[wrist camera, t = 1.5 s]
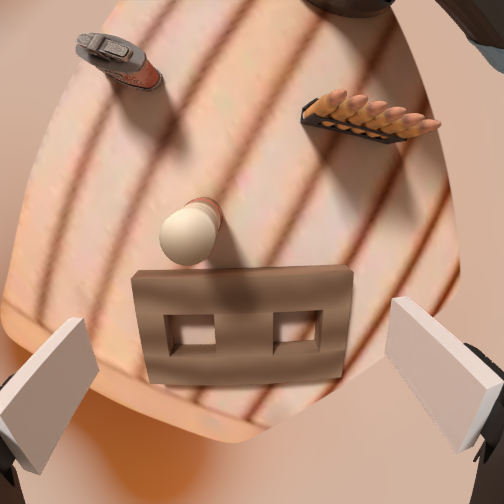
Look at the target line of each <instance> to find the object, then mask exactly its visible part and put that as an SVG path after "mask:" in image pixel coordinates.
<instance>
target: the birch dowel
mask: <svg viewBox="0 0 504 504" xmlns="http://www.w3.org/2000/svg"><path fill="white" fill-rule="evenodd" d="M221 222H222V212H221V208H220V206H219V205H218V204H217V203H216V202H215V201H214V200H212V199H210V198H206V197H201V198H197V199H194V200H192V201H190V202H188V203H187V204H186V205H185V206H184V207H183V208H181V209H180V210H178V211H177V212H175V213H174V214H172V215H171V216H170V217H168V218H167V219H166V220H165V222H164V223H163V225H162V227H161V230H160V236H159V240H160V245H161V248H162V250H163V252H164V254H165V255H166V256H167V257H168V258H169V259H170V260H171V261H173V262H175V263H177V264H180V265H185V266H190V265H195V264H198V263H200V262H202V261H203V260H205V259H206V258H207V257H208V256H209V254H210V253H211V251H212V248H213V245H214V242H215V239H216V236H217V233H218V231H219V229H220V226H221Z"/></svg>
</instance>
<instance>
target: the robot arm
mask: <svg viewBox="0 0 504 504" xmlns="http://www.w3.org/2000/svg"><path fill="white" fill-rule="evenodd" d="M307 1H309V2H310V3H312V4H314V5H315V6H317V7H319V8H321V9H324V10H326V11H328V12H331V13H334V14H338V15H341V16H346V17H354V18H365V17H372V16H375V15H378V14H380V13H382V12H384V11H385V10H386V9H387V8H388V7H389V6H390V5H392V3H393V2H394V1H395V0H307ZM435 1H436V2H437V3H438V4H439V5H440V6H441V7H442V8H443V9H444V10H445V11H446V12H447V13H448V15H449V16H450V17H451V18H452V19H453V20H454V21H455V22H456V24H457V25H458V26H459V27H460V29H462V31H463V32H464V33H465V35H466V37H467V39H468V40H469V42H470V43H472V44H473V45H474V46H476V48H477V49H478V50H479V51H480V52H481V54H482V55H483V56H484V57H485V59H486V60H487V61H488V62H489V64H490V65H491V66H492V67H493V68H494V69H496V70H497V71H499V72H501V73H503V74H504V0H435ZM385 355H386V356H387V357H388V359H389V360H390V361H391V363H392V364H393V365H394V367H395V368H396V369H397V371H398V372H399V373H400V375H401V376H402V378H403V379H404V380H405V382H406V383H407V385H408V386H409V387H410V389H411V390H412V391H413V393H414V394H415V395H416V397H417V398H418V400H419V401H420V403H421V404H422V405H423V407H424V408H425V410H426V411H427V412H428V414H429V415H430V417H431V418H432V420H433V421H434V423H435V424H436V425H437V427H438V428H439V430H440V431H441V433H442V434H443V436H444V437H445V439H446V440H447V442H448V443H449V444H450V446H451V447H452V449H453V450H454V452H455V453H456V454H457V453H460V452H462V451H464V450H466V449H468V448H470V447H473V446H474V444H475V442H476V441H477V439H478V437H479V435H480V434H481V435H482V436H483V437H484V439H485V441H484V442H483V444H482V446H481V448H480V449H479V451H478V453H477V454H476V456H475V458H474V460H473V462H476V460H477V459H478V457H479V456H480V458H479V464H478V470H477V474H476V479H475V483H474V488H473V492H472V496H471V500H470V503H469V504H504V372H503V371H502V370H501V369H500V368H499V367H498V366H497V365H496V364H495V363H492V361H491V360H490V359H489V358H488V357H485V355H484V354H483V353H482V352H481V351H480V350H479V349H477V348H475V347H474V346H471V345H469V344H467V343H462V342H460V341H459V340H458V339H457V338H456V337H455V336H454V335H452V334H451V333H450V332H449V331H448V330H447V329H445V328H444V327H443V326H442V325H441V324H440V323H438V322H437V321H436V320H435V319H434V318H433V317H431V316H430V315H429V314H428V313H427V312H425V311H424V310H423V309H422V308H421V307H419V306H418V305H417V304H416V303H415V302H413V301H412V300H411V299H410V298H408V297H407V296H405V297H398V298H392V302H391V311H390V319H389V326H388V334H387V340H386V347H385ZM98 372H99V368H98V365H97V362H96V359H95V356H94V352H93V349H92V346H91V343H90V339H89V336H88V332H87V329H86V325H85V322H84V318H69V319H68V320H67V321H66V322H65V323H64V324H63V325H62V326H61V327H60V328H59V329H58V330H57V331H56V332H55V333H54V334H53V335H52V336H51V337H50V338H49V339H48V340H47V341H46V342H45V343H44V344H43V345H42V346H41V347H40V348H39V349H38V350H37V351H36V352H35V353H34V354H33V355H32V357H31V358H30V359H29V360H28V361H27V362H26V363H25V364H24V365H23V366H22V367H21V368H20V369H19V370H18V371H17V372H16V373H14V374H13V375H11V376H10V377H9V378H8V379H7V380H6V381H5V382H4V383H3V384H2V386H1V387H0V504H25V500H24V497H23V494H22V490H21V487H20V483H19V479H18V475H17V471H16V469H15V467H14V466H13V465H12V464H13V462H14V460H15V459H16V460H17V461H18V462H19V464H20V465H21V467H22V468H23V469H24V470H26V471H29V472H32V473H35V474H38V475H41V473H42V471H43V469H44V467H45V465H46V463H47V461H48V460H49V458H50V456H51V454H52V452H53V450H54V448H55V446H56V445H57V443H58V441H59V439H60V437H61V435H62V434H63V432H64V430H65V428H66V427H67V425H68V423H69V421H70V419H71V418H72V416H73V414H74V412H75V411H76V409H77V407H78V406H79V404H80V402H81V400H82V399H83V397H84V395H85V394H86V392H87V390H88V389H89V387H90V385H91V384H92V382H93V380H94V379H95V377H96V375H97V374H98Z"/></svg>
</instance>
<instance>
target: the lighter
mask: <svg viewBox="0 0 504 504" xmlns="http://www.w3.org/2000/svg"><path fill="white" fill-rule="evenodd" d="M76 43H77V46H76V53H77V55H78V56H80V57H81V58H83V59H84V60H86V61H87V62H89V63H90V64H92V65H94V66H96V68H98V69H99V70H101V71H102V72H103V73H105V74H106V75H108V76H109V77H111V78H112V79H113V80H115V81H117V82H119V83H121V84H123V85H125V86H128V87H131V88H134V89H138V90H143V91H154V90H156V89H157V88H158V87H159V86H160V85H161V83H162V79H163V77H162V74H161V73H160V71H159V70H158V69H156V68H155V67H153V66H152V65H151V63H150V62H149V61H148V60H147V57H146V54H145V53H144V52H143V51H142V49H140V48H139V47H137V46H135V45H134V44H132V43H131V42H129V41H126V40H124V39H122V38H119V37H116V36H112V35H107V34H99V33H89V34H87V33H81V34H80V35H79V36H78V37H77V39H76Z"/></svg>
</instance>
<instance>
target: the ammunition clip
mask: <svg viewBox="0 0 504 504" xmlns="http://www.w3.org/2000/svg"><path fill="white" fill-rule="evenodd" d="M346 96H347V91H346V90H344V89H338V90H335V91H333V92H331V93H329V94H327V95H324V96H322V97H321V98H320V99H317V98H315V99H314V100H313V101H311V102H310V103H309V104H307V105H306V106H305V107H303V108H302V114H301V122H300V123H302V124H306V125H311V126H316V127H320V128H325V129H329V130H334V131H338V132H342V133H347V134H351V135H355V136H359V137H363V138H366V139H370V140H374V141H378V142H381V143H385V144H391V143H396V142H402V141H407V138H409V137H416V136H419V135H421V134H424V133H427V132H431V131H434V130H436V129H437V128H439V127H440V126H441V122H439V121H437V120H433V119H426V120H424V118H425V116H424V115H422V114H419V113H409V114H406V112H407V110H406V109H405V108H403V107H392V108H388V109H386V108H387V107H388V103H387V102H385V101H375V102H372V103H368V104H366V103H367V101H368V97H367V96H365V95H357V96H354V97H352V98H349V99H345V98H346Z"/></svg>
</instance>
